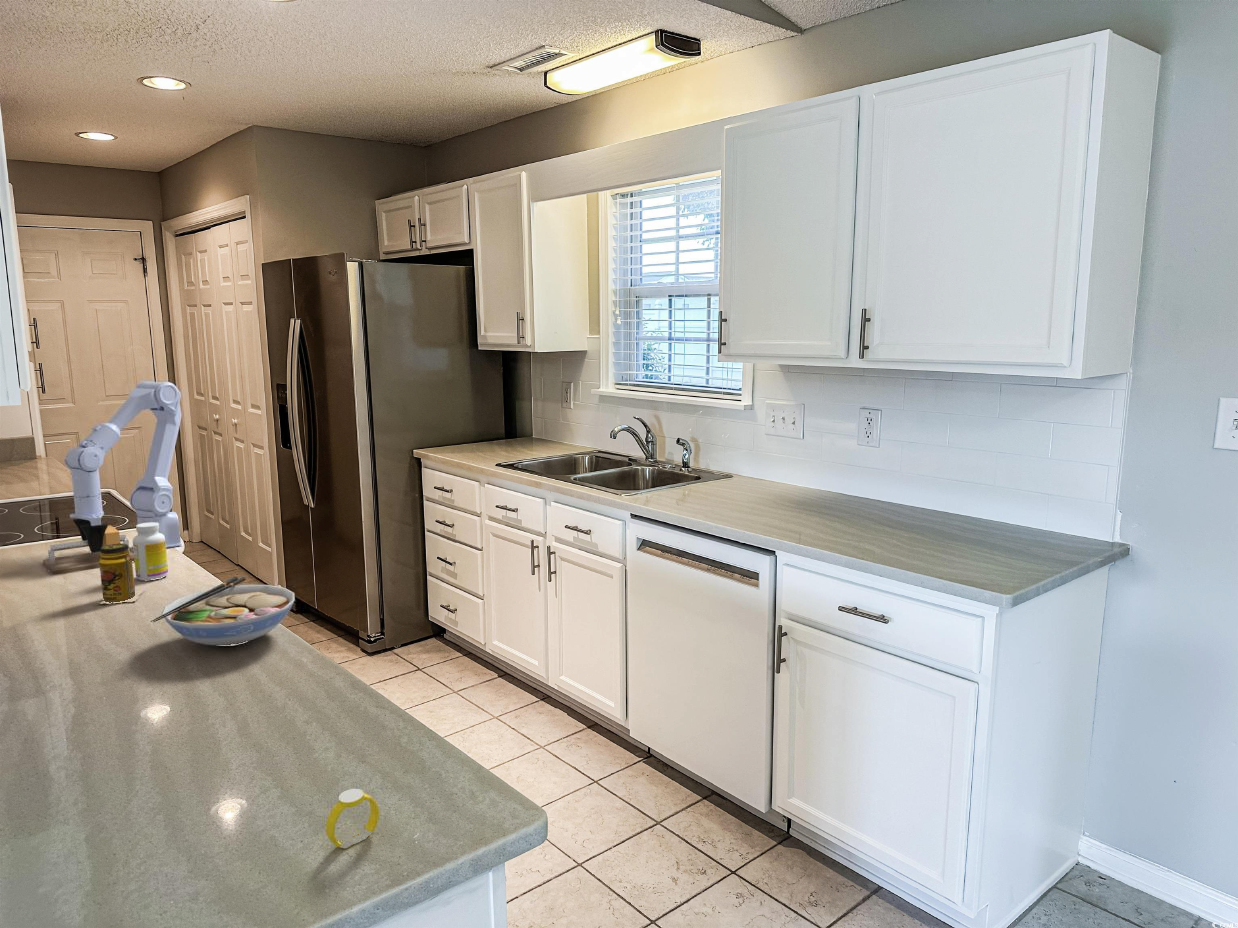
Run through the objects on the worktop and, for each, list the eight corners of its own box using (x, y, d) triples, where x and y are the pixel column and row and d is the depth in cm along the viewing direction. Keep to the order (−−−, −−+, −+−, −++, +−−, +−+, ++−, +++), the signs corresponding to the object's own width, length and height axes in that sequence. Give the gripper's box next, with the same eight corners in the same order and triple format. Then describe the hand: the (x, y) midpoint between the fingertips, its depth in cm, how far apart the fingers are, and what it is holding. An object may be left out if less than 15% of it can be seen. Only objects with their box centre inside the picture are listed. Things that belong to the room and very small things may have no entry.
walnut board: (125, 550, 220) (125, 547, 219) (138, 561, 210) (137, 557, 210) (43, 563, 208) (42, 559, 207) (52, 575, 198) (52, 571, 198)
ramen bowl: (245, 671, 144) (242, 626, 143) (130, 660, 148) (126, 616, 147) (324, 622, 168) (321, 582, 167) (223, 613, 173) (220, 575, 171)
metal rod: (128, 551, 215) (126, 533, 214) (129, 553, 214) (128, 534, 213) (49, 564, 204) (47, 544, 203) (50, 565, 202) (48, 545, 202)
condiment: (96, 606, 177) (91, 551, 175) (107, 593, 185) (102, 541, 183) (135, 602, 179) (130, 548, 177) (144, 591, 187) (140, 538, 185)
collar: (112, 546, 216) (110, 525, 215) (121, 553, 209) (119, 531, 208) (99, 548, 214) (97, 526, 213) (107, 555, 207) (105, 533, 206)
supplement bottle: (174, 574, 200) (170, 521, 198) (156, 582, 193) (152, 528, 191) (148, 573, 200) (143, 520, 198) (129, 581, 194) (124, 527, 192)
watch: (337, 860, 94) (331, 813, 93) (325, 849, 96) (319, 803, 95) (384, 833, 98) (379, 788, 97) (372, 823, 100) (366, 779, 99)
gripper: (62, 492, 209) (68, 545, 211) (74, 502, 199) (80, 557, 201) (95, 489, 214) (100, 541, 216) (108, 498, 203) (113, 552, 205)
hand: (92, 548), depth 209 cm, fingers open, 7 cm apart
